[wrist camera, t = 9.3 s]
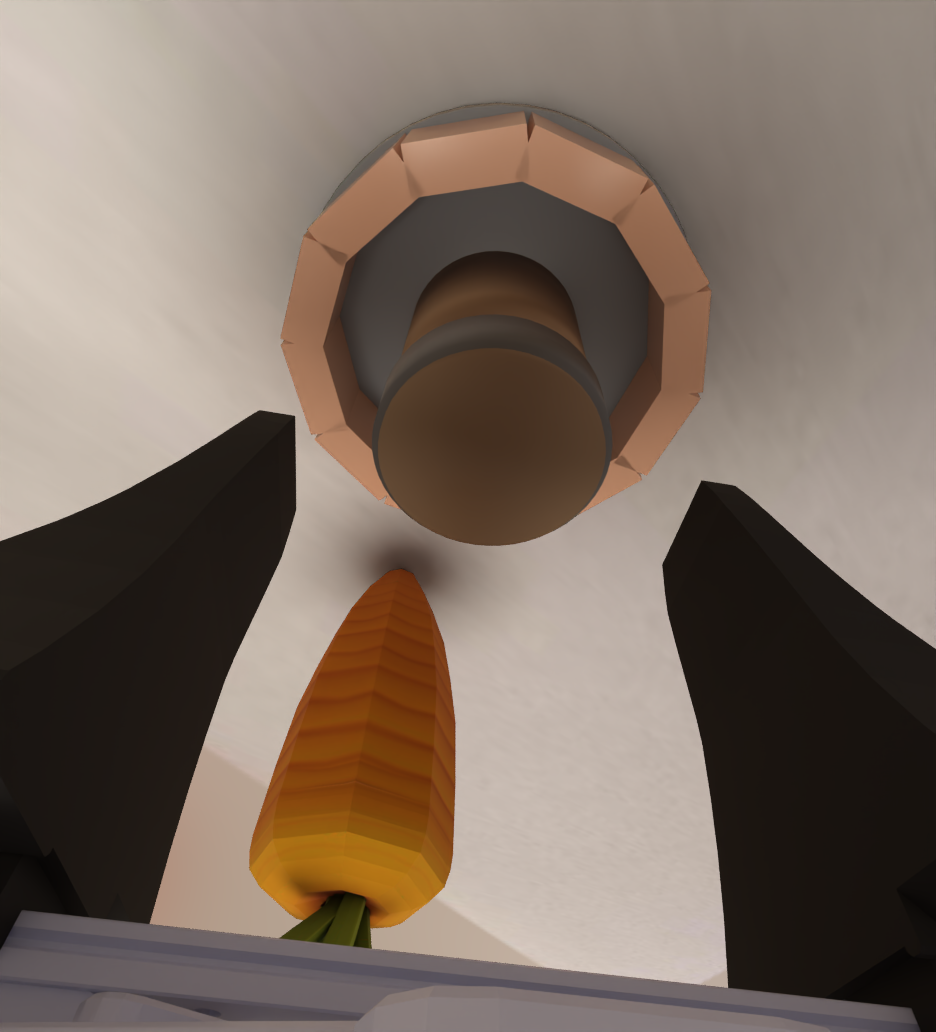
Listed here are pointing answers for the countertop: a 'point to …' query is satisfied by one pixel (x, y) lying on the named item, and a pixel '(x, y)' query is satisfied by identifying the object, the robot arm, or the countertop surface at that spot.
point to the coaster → (510, 228)
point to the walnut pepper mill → (492, 406)
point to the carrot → (365, 776)
